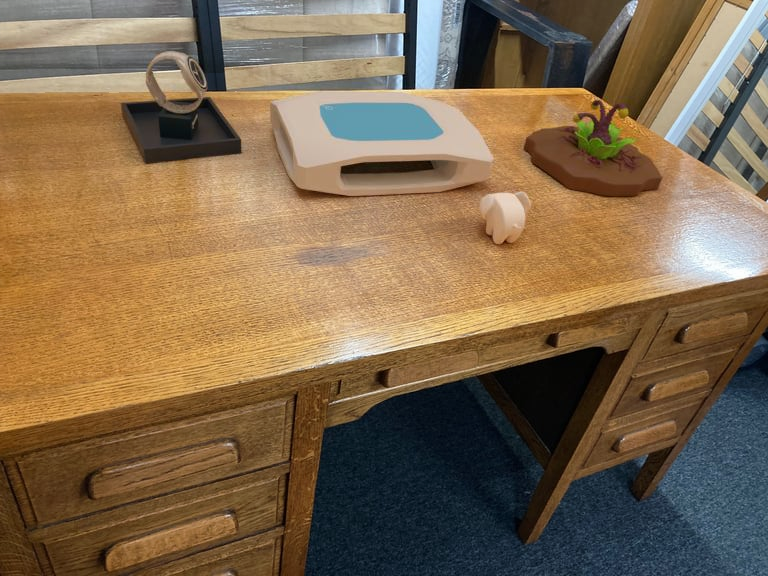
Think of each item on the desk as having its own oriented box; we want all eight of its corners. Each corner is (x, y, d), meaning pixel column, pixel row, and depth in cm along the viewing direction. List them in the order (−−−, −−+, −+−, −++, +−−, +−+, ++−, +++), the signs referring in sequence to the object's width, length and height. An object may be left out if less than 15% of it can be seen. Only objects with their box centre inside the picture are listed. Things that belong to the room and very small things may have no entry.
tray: (122, 116, 93) (120, 102, 92) (210, 109, 99) (209, 96, 98) (145, 163, 83) (143, 149, 82) (241, 152, 89) (241, 139, 88)
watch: (205, 141, 89) (202, 64, 82) (147, 135, 88) (138, 57, 81) (211, 124, 94) (209, 50, 87) (156, 119, 93) (149, 43, 86)
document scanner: (488, 190, 90) (499, 151, 86) (297, 200, 81) (300, 156, 77) (434, 127, 105) (441, 91, 102) (268, 129, 96) (269, 89, 92)
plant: (570, 201, 91) (597, 129, 84) (508, 140, 105) (526, 75, 98) (677, 194, 98) (710, 127, 91) (605, 138, 112) (629, 76, 105)
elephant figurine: (505, 216, 85) (516, 178, 81) (535, 250, 79) (549, 210, 76) (461, 220, 83) (471, 181, 79) (489, 255, 77) (501, 214, 73)
